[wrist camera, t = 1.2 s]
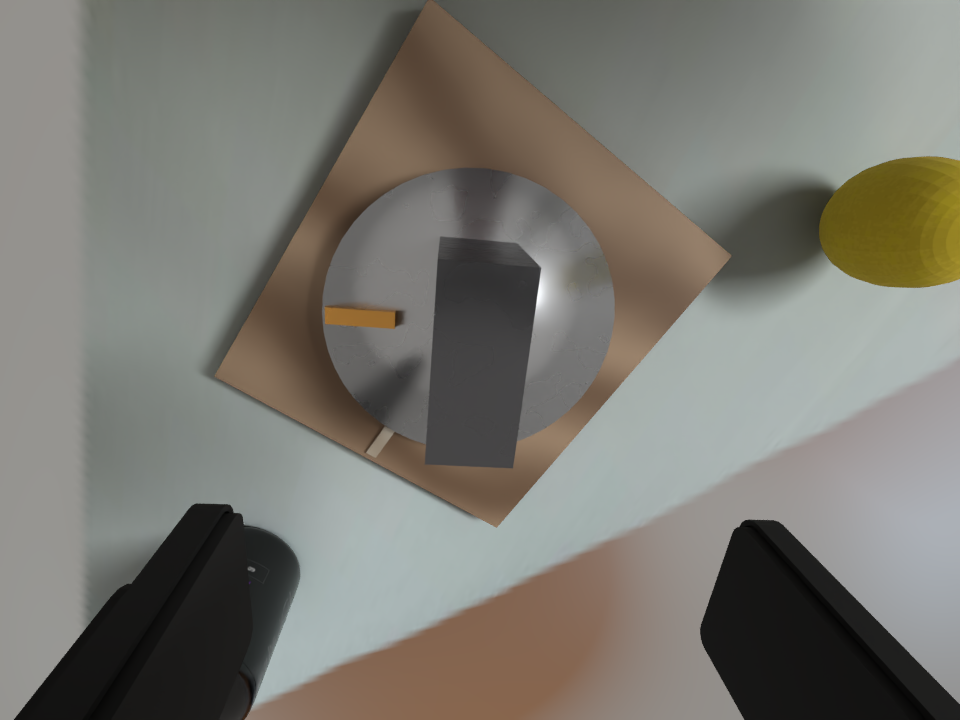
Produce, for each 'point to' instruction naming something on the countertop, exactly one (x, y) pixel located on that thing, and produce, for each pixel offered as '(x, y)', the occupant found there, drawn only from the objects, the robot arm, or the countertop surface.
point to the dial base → (449, 145)
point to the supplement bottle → (263, 613)
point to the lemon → (897, 223)
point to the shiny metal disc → (468, 312)
